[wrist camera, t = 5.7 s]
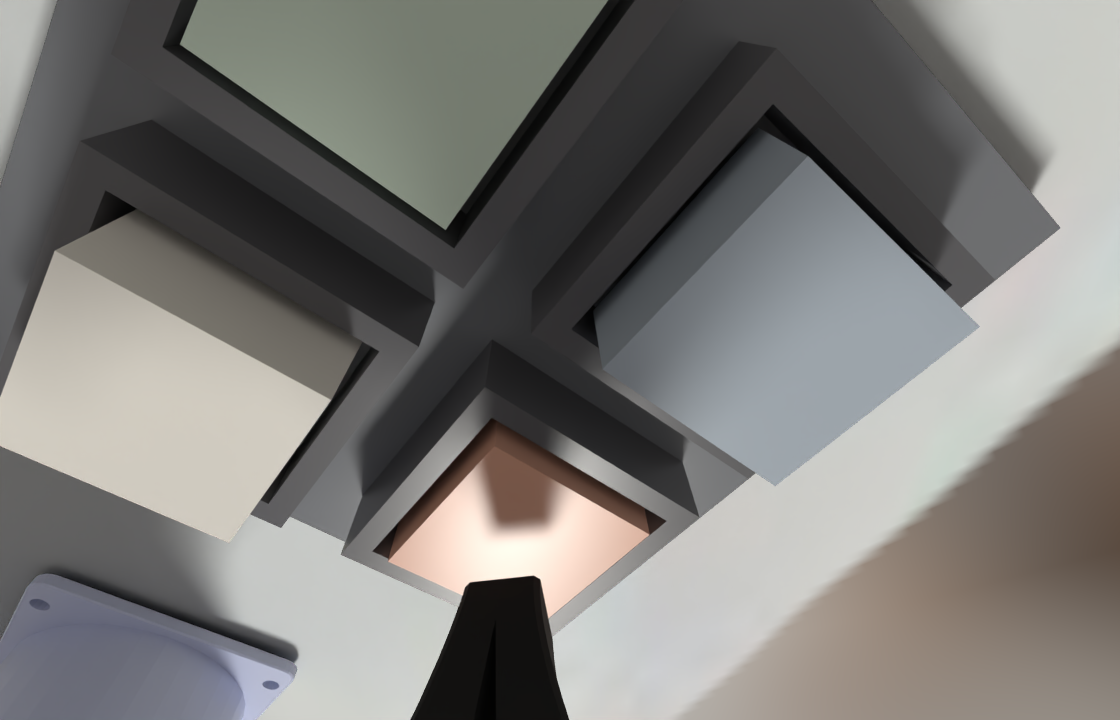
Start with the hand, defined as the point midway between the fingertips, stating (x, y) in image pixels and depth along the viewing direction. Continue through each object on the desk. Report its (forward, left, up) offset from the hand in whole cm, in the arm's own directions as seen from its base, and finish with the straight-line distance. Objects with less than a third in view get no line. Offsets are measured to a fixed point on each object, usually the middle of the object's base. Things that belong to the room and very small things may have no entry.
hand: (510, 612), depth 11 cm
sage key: (+7, +7, -4) cm, 11 cm away
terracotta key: (0, 0, -4) cm, 4 cm away
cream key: (0, +7, -2) cm, 7 cm away
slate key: (+7, 0, -2) cm, 8 cm away
